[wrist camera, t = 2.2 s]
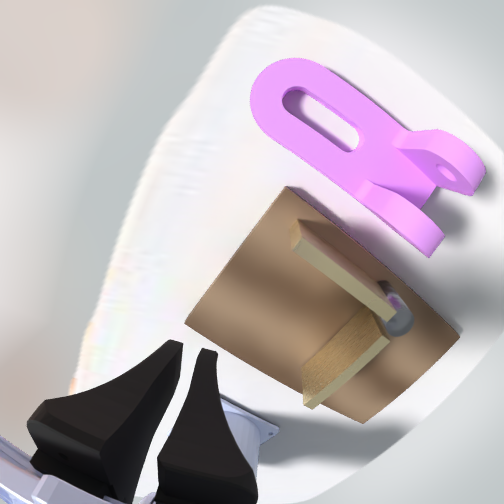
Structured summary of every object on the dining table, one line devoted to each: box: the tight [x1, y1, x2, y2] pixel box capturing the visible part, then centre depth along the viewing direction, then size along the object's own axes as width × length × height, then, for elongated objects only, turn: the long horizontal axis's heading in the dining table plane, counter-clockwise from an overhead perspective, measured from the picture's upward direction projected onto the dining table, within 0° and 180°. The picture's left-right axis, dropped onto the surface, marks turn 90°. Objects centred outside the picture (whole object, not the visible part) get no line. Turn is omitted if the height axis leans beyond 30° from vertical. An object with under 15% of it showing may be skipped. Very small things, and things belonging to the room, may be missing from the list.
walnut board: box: [184, 186, 460, 424], centre depth 21 cm, size 12×19×1 cm, turn 54°
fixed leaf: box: [289, 219, 414, 337], centre depth 17 cm, size 2×9×4 cm, turn 54°
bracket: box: [250, 58, 486, 258], centre depth 15 cm, size 13×6×7 cm, turn 56°
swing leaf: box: [301, 305, 390, 409], centre depth 19 cm, size 1×7×4 cm, turn 144°
